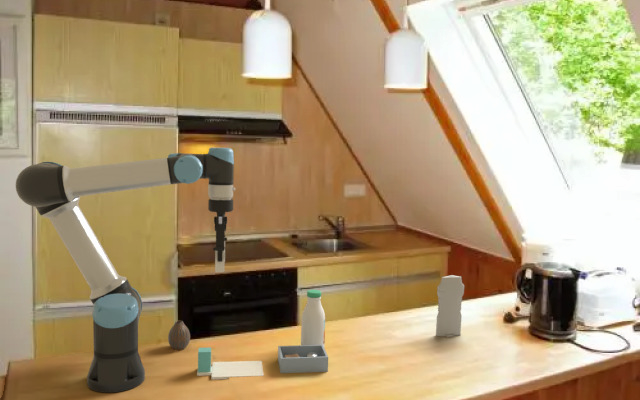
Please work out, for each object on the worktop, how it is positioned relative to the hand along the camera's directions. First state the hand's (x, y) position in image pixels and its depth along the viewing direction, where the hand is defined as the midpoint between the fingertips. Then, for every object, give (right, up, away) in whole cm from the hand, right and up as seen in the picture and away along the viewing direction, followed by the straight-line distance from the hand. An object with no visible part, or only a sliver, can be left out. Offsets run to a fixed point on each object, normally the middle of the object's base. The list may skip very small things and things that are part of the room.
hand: (220, 266), depth 175 cm
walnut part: (+23, -30, -5) cm, 37 cm away
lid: (+4, -30, -8) cm, 31 cm away
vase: (-15, -28, +9) cm, 33 cm away
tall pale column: (+77, -28, +29) cm, 87 cm away
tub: (+25, -30, -4) cm, 40 cm away
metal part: (+28, -29, -3) cm, 41 cm away
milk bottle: (+28, -29, +10) cm, 42 cm away
